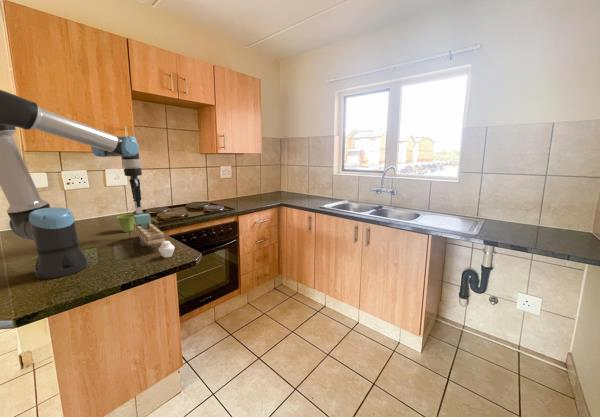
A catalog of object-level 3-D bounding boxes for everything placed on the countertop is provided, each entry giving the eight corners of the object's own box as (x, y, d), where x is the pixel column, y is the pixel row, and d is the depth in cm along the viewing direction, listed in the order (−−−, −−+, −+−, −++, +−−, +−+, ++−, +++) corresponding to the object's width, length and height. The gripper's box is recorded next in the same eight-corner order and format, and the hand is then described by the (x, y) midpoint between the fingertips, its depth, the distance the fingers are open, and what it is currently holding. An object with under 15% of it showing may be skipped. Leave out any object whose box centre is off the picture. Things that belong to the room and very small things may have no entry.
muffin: (160, 254, 114) (158, 239, 113) (176, 252, 116) (174, 237, 115) (158, 260, 108) (156, 244, 107) (174, 257, 110) (173, 242, 109)
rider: (152, 227, 135) (150, 214, 133) (137, 230, 130) (135, 216, 129) (149, 225, 138) (148, 213, 137) (135, 228, 134) (133, 215, 133)
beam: (166, 250, 119) (164, 232, 118) (149, 254, 115) (146, 236, 113) (149, 234, 143) (147, 219, 141) (135, 237, 138) (132, 222, 137)
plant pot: (120, 229, 154) (118, 215, 152) (139, 227, 158) (137, 213, 156) (117, 233, 145) (114, 218, 144) (137, 231, 149) (134, 216, 148)
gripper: (143, 167, 132) (150, 213, 137) (138, 167, 141) (144, 209, 146) (125, 168, 127) (133, 216, 132) (121, 167, 136) (128, 212, 142)
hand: (139, 212), depth 139 cm, fingers closed
